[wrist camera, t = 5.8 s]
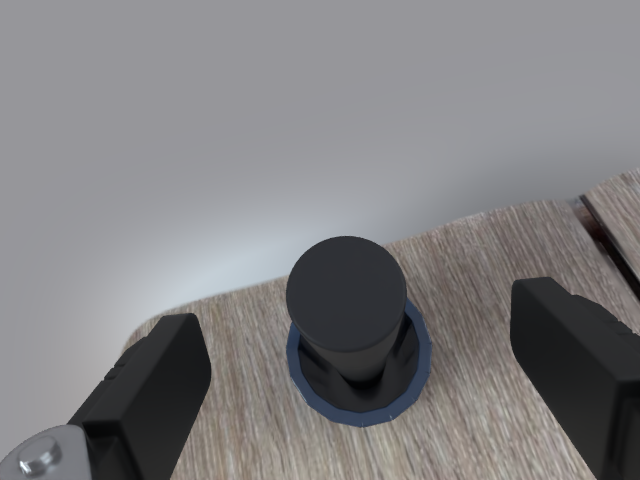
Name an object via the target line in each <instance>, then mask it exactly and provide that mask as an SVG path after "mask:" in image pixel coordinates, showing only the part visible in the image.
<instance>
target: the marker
mask: <svg viewBox="0 0 640 480" xmlns="http://www.w3.org/2000/svg"><path fill="white" fill-rule="evenodd" d="M406 301H407V288H406V282H405V278H404V275H403V272H402V270H401V268H400V266H399V265H398V263H397V261H396V260H395V259H394V258H393V256H392V255H391V254H390V253H389V252H388V251H386V250H385V249H384V248H383V247H381V246H380V245H378V244H376V243H374V242H372V241H370V240H367V239H364V238H360V237H354V236H340V237H334V238H330V239H327V240H324V241H322V242H319V243H318V244H316V245H314V246H313V247H311V248H310V249H309V250H307V251H306V252H305V253H304V254H303V255H302V256H301V257H300V258H299V260H298V261H297V262H296V264H295V265H294V267H293V269H292V271H291V273H290V275H289V279H288V282H287V288H286V303H287V308H288V312H289V315H290V317H291V320H292V322H293V323H294V325H295V327H296V328H297V330H298V331H299V332H300V333H301V335H302V336H303V337H304V338H305V339H306V340H307V341H308V342H309V344H310V345H311V346H312V347H313V348H314V349H315V350H316V352H317V353H318V354H319V355H320V356H321V357H323V358H324V359H325V360H327V361H328V362H330V363H331V364H332V365H333V367H334V368H335V369H336V370H337V372H338V373H339V374H340V375H341V376H342V378H343V379H344V380H345V381H346V382H347V383H348V384H349V385H350V386H352V387H354V388H357V389H368V388H371V387H373V386H375V385H376V384H377V383H378V382H379V381H380V380H381V378H382V376H383V373H384V370H385V366H386V362H387V358H388V354H389V350H390V349H391V347H392V346H393V344H394V342H395V340H396V337H397V334H398V330H399V327H400V324H401V321H402V317H403V314H404V311H405V307H406Z"/></svg>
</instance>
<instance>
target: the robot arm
mask: <svg viewBox="0 0 640 480" xmlns="http://www.w3.org/2000/svg"><path fill="white" fill-rule="evenodd" d="M510 341H511V346H512V350H513V353H514V356H515V358H516V360H517V362H518V363H519V365H520V366H521V368H522V369H523V371H524V372H525V373H526V375H527V376H528V378H529V379H530V381H531V382H532V384H533V385H534V387H535V388H536V390H537V391H538V393H539V394H540V396H541V397H542V399H543V400H544V402H545V403H546V405H547V406H548V408H549V409H550V411H551V412H552V414H553V415H554V417H555V418H556V420H557V421H558V423H559V424H560V425H561V427H562V428H563V430H564V431H565V433H566V434H567V436H568V437H569V439H570V440H571V442H572V443H573V445H574V446H575V448H576V449H577V451H578V452H579V454H580V455H581V457H582V458H583V460H584V461H585V463H586V464H587V466H588V467H589V469H590V470H591V472H592V473H593V475H594V476H595V478H596V479H597V480H640V336H638V335H637V334H636V333H632V330H631V329H630V328H629V327H627V326H626V325H625V324H624V323H622V322H621V321H619V322H618V319H617V318H616V317H615V316H614V315H612V314H611V313H610V312H609V311H607V310H606V309H605V308H604V307H603V306H601V305H600V304H597V303H595V302H593V301H591V300H588V299H586V298H584V297H582V296H579V295H571V294H570V293H569V292H567V291H566V290H565V289H564V288H563V287H562V286H560V285H559V284H558V283H557V282H556V281H555V280H554V279H552V278H551V277H539V278H530V279H520V280H515V281H514V283H513V285H512V293H511V320H510ZM210 382H211V363H210V359H209V355H208V352H207V349H206V345H205V342H204V338H203V335H202V331H201V328H200V324H199V321H198V318H197V316H196V315H195V314H194V313H186V314H177V315H167V316H163V317H162V318H161V319H160V320H159V321H158V323H157V324H156V325H155V327H154V328H153V329H152V331H151V332H150V333H149V334H148V336H147V337H143V338H142V339H140V340H139V341H138V342H136V343H135V344H134V345H132V346H131V347H130V348H128V349H127V350H126V351H125V352H124V353H123V355H122V356H121V357H120V358H119V360H118V361H117V362H116V363H115V365H114V368H112V369H111V370H110V371H109V372H108V373H107V375H106V376H105V377H104V381H101V382H100V383H99V385H98V386H97V387H96V388H95V389H94V391H93V392H92V393H91V394H90V396H89V397H88V398H87V399H86V401H85V402H84V403H83V404H82V406H81V407H80V408H79V409H78V410H77V412H76V413H75V414H74V416H73V417H72V418H71V419H70V420H69V422H68V423H67V424H66V425H60V426H56V427H53V428H49V429H47V430H44V431H42V432H40V433H38V434H36V435H34V436H32V437H30V438H29V439H27V440H25V441H24V442H23V443H21V444H20V445H18V446H17V447H16V448H15V449H13V450H12V451H11V452H10V453H9V454H8V455H7V456H6V457H5V458H4V459H3V460H2V461H1V463H0V480H170V478H171V475H172V473H173V471H174V468H175V466H176V464H177V461H178V459H179V457H180V454H181V452H182V450H183V447H184V445H185V443H186V440H187V438H188V435H189V433H190V431H191V428H192V426H193V424H194V421H195V419H196V417H197V414H198V412H199V410H200V407H201V405H202V403H203V400H204V398H205V396H206V393H207V391H208V389H209V386H210Z"/></svg>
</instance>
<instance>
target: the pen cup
mask: <svg viewBox="0 0 640 480" xmlns="http://www.w3.org/2000/svg"><path fill="white" fill-rule="evenodd" d="M286 349H287V350H286V354H287V360H288V366H289V372H290V377H291V380H292V381H293V383H294V385H295V386H296V388H297V389H298V391H299V393H300V394H301V396H302V397H303V399H304V401H305V402H306V403H307V404H308V405H309V406H310V407H312V408H313V409H314V410H316V411H317V412H319V413H320V414H321V415H323V416H324V417H326V418H327V419H328V420H330V421H333V422H335V423H340V424H345V425H350V426H355V427H360V428H361V427H363V428H364V427H368V426H372V425H377V424H381V423H385V422H389V421H392V420H394V419H395V418H396V417H398V416H399V415H400V414H401V413H403V412H404V411H405V410H406V409H408V408H409V407H410V406H412V405H413V404H414V403H415V402H416V401H417V400H418V398H419V396H420V394H421V392H422V390H423V388H424V386H425V384H426V382H427V380H428V378H429V376H430V373H431V359H432V341H431V338H430V335H429V332H428V329H427V326H426V323H425V320H424V317H423V316H422V314H421V313H420V312H419V310H418V309H417V308H416V307H415V306H414V304H413V303H412V302H411V301H410V300H409V298H408V297H407V301H406V307H405V311H404V314H403V317H402V321H401V324H400V327H399V330H398V334H397V337H396V340H395V342H394V344H393V346H392V347H391V349H390V350H389V354H388V358H387V362H386V366H385V370H384V373H383V376H382V378H381V380H380V381H379V382H378V383H377V384H376V385H375V386H373V387H371V388H368V389H357V388H354V387H352V386H350V385H349V384H348V383H347V382H346V381H345V380H344V379H343V378H342V376H341V375H340V374H339V373H338V372H337V370H336V369H335V368H334V367H333V365H332V364H331V363H330V362H328V361H327V360H325V359H324V358H323V357H321V356H320V355H319V354H318V353H317V352H316V350H315V349H314V348H313V347H312V346H311V345H310V344H309V342H308V341H307V340H306V339H305V338H304V337H303V336H302V335H301V333H300V332H299V331H298V330H297V328H296V327H295V325H294V323H293V322H292V323H291V326H290V331H289V336H288V341H287V345H286Z"/></svg>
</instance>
